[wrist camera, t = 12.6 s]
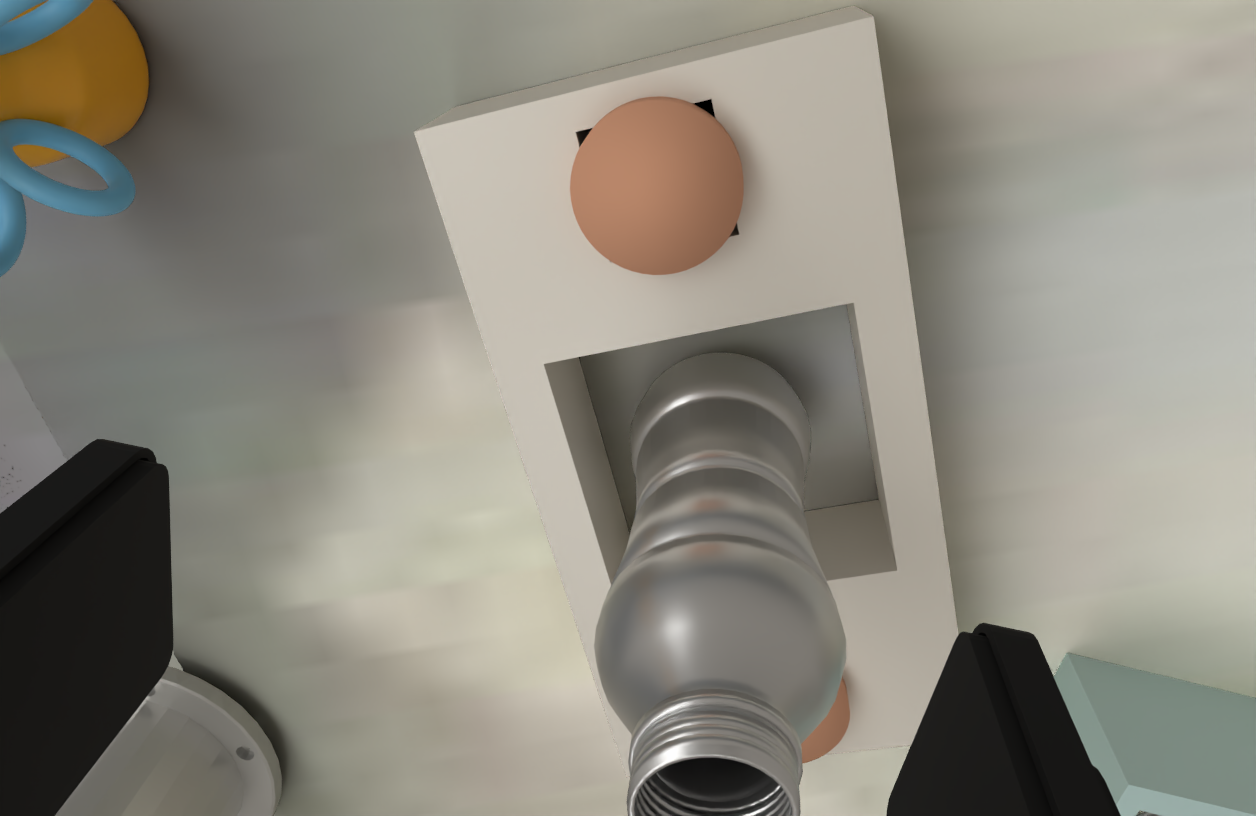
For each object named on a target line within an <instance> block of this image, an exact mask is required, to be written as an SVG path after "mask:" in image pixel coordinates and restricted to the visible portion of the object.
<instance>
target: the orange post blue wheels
mask: <svg viewBox="0 0 1256 816" xmlns="http://www.w3.org/2000/svg"><path fill="white" fill-rule="evenodd" d="M148 88H149V74H148V63H147V60H146V56H145V52H144V48H143V46H142V44H141V42H140V39H139V37H138V34H137V32H136V30H135V29H134V27H133V26H132V25H131V23H130V21H129V20H128V18H127V16H126V15H125V14H124V13H123V12H122V11H121V10H120V9H119V7H118V6H117V5H116V4H115V3H114V2H113V1H112V0H0V277H1V276H2V275H4V274H5V273H6V272H7V271H8V270H9V269H10V268H11V267H12V266H13V265H14V263H15V262H16V260H17V258H18V257H19V255H20V252H21V250H22V247H23V244H24V239H25V234H26V211H25V205H24V200H23V197H22V194H24V195H26V196H27V197H29V198H31V199H33V200H35V201H37V202H40V203H42V204H44V205H47V206H49V207H52V208H55V209H58V210H61V211H65V212H68V213H73V214H78V215H84V216H109V215H113V214H117V213H119V212H122V211H123V210H125V209H126V208H128V207H129V206H130V204H131V203H132V202H133V200H134V197H135V184H134V180H133V178H132V176H131V174H130V173H129V171H128V170H127V168H126V167H125V166H124V165H123V163H122V162H121V161H120V160H119V159H118V158H116V157H115V156H114V155H113V154H112V153H110V152H109V151H108V150H106V149H105V148H104V147H102V146H104V145H106V144H109V143H112V142H114V141H116V140H118V139H119V138H121V137H122V136H124V135H125V134H126V133H127V132H129V131H130V130H131V129H132V127H133V126H134V125H135V124H136V122H137V121H138V119H139V117H140V116H141V114H142V112H143V110H144V107H145V103H146V101H147V98H148ZM70 156H72V157H74V158H76V159H78V160H80V161H81V162H83V163H85V164H86V165H88V166H89V167H91V168H92V169H93V170H95V171H96V172H97V173H98V174H99V175H100V176H101V177H102V178H103V179H104V180H105V181H106V183H107V185H108V189H105V190H100V191H92V190H84V189H79V188H75V187H71V186H68V185H65V184H62V183H59V182H57V181H54V180H52V179H50V178H48V177H46V176H44V175H42V174H40V173H38V172H37V171H35V170H34V169H32V168H31V167H36V166H41V165H45V164H49V163H52V162H55V161H58V160H61V159H64V158H67V157H70Z"/></svg>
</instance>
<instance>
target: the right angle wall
mask: <svg viewBox="0 0 1256 816" xmlns="http://www.w3.org/2000/svg"><path fill="white" fill-rule="evenodd" d="M1054 679H1055V681H1056V684H1057V686H1058V688H1059V690H1060V693H1061V695H1062V697H1063V700H1064V702H1065V704H1066V706H1067V709H1068V711H1069V713H1070V716H1071V718H1072V720H1073V722H1074V725H1075V727H1076V729H1077V731H1078V734H1079V736H1080V738H1081V741H1082V743H1083V745H1084V747H1085V750H1086V752H1087V754H1088V757H1089V759H1090V761H1091V763H1092V765H1093V766H1094V767H1096V768H1097V769H1098V770H1099V772H1100V773H1101V775H1102V776H1103V778H1104V780H1105V781H1106V784H1107V786H1108V788H1109V790H1110V793H1111V795H1112V797H1113V799H1114V802H1115V804H1116V806H1117V808H1118V810H1119V813H1120V815H1121V816H1256V698H1254V697H1250V696H1245V695H1241V694H1237V693H1233V692H1229V691H1225V690H1220V689H1216V688H1212V687H1208V686H1204V685H1200V684H1196V683H1191V682H1187V681H1183V680H1179V679H1175V678H1171V677H1166V676H1162V675H1158V674H1154V673H1150V672H1146V671H1142V670H1137V669H1133V668H1129V667H1125V666H1121V665H1117V664H1112V663H1108V662H1104V661H1100V660H1096V659H1092V658H1088V657H1083V656H1079V655H1075V654H1071V653H1066V655H1065V657H1064V659H1063V661H1062V662H1061V664H1060V666H1059V668H1058V670H1057V672H1056V674H1055V676H1054ZM1139 810H1140V811H1144V813H1142V814H1139V815H1137V813H1138V812H1139Z"/></svg>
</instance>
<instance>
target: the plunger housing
mask: <svg viewBox="0 0 1256 816" xmlns="http://www.w3.org/2000/svg"><path fill="white" fill-rule="evenodd" d="M657 96H662V97H672V98H677V99H681V100H684V101H687V102H690V103H692V104H693V103H697V102H701V101H705V100H709V99H711V100H712V104H713V109H714V114H715V119H716V120H717V121H718V122H719V123H720V124H721V125H722V126H723V127H724V128H725V130H726V131H727V132H728V134H729V135H730V137H731V139H732V140H733V142H734V144H735V146H736V149H737V151H738V153H739V157H740V160H741V164H742V171H743V183H744V195H743V203H742V208H741V212H740V215H739V218H738V221H737V223H736V226H735V228H734V230H733V231H732V233H731V235H730V236H729V238H728V239H727V241H726V242H725V243H724V244H723V246H722V247H721V248H720V249H719V250H718V251H717V252H716V253H715V254H714V255H712V256H711V257H710V258H708V259H707V260H706V261H704V262H702V263H701V264H699V265H697V266H695V267H693V268H690V269H688V270H685V271H682V272H678V273H674V274H667V275H649V274H641V273H637V272H633V271H630V270H627V269H625V268H622V267H620V266H618V265H616V264H614V263H613V262H611V261H610V260H608V259H607V258H605V257H604V256H603V255H601V254H600V253H599V252H598V251H597V250H596V249H595V248H594V247H593V246H592V245H591V243H590V242H589V241H588V240H587V238H586V237H585V235H584V234H583V232H582V231H581V229H580V227H579V225H578V223H577V220H576V218H575V215H574V212H573V208H572V203H571V195H570V179H571V172H572V167H573V163H574V160H575V157H576V154H577V152H578V150H579V148H580V146H581V144H582V143H583V141H584V140H585V138H586V137H587V135H588V134H589V132H590V131H591V130H592V129H593V127H594V126H595V125H596V124H597V123H598V122H599V121H600V120H601V119H602V118H603V117H604V116H605V115H606V114H608V113H609V112H611V111H612V110H614V109H615V108H617V107H619V106H621V105H623V104H625V103H627V102H630V101H633V100H636V99H640V98H646V97H657ZM414 134H415V137H416V140H417V143H418V146H419V149H420V152H421V155H422V158H423V161H424V164H425V167H426V170H427V173H428V176H429V179H430V182H431V185H432V188H433V191H434V195H435V198H436V201H437V204H438V207H439V210H440V213H441V216H442V219H443V222H444V225H445V228H446V231H447V234H448V237H449V240H450V243H451V246H452V249H453V252H454V255H455V258H456V261H457V264H458V267H459V271H460V274H461V277H462V280H463V283H464V286H465V289H466V292H467V295H468V298H469V301H470V304H471V307H472V310H473V313H474V316H475V319H476V322H477V325H478V328H479V331H480V334H481V337H482V340H483V343H484V346H485V350H486V353H487V356H488V359H489V362H490V365H491V368H492V371H493V374H494V377H495V380H496V383H497V386H498V389H499V392H500V395H501V398H502V401H503V404H504V407H505V410H506V413H507V416H508V419H509V422H510V425H511V429H512V432H513V435H514V438H515V441H516V444H517V447H518V450H519V453H520V456H521V459H522V462H523V465H524V468H525V471H526V474H527V477H528V480H529V483H530V486H531V489H532V492H533V495H534V498H535V501H536V505H537V508H538V511H539V514H540V517H541V520H542V523H543V526H544V529H545V532H546V535H547V538H548V541H549V544H550V547H551V550H552V553H553V556H554V559H555V562H556V565H557V568H558V571H559V574H560V577H561V580H562V584H563V587H564V590H565V593H566V596H567V599H568V602H569V605H570V608H571V611H572V614H573V617H574V620H575V623H576V626H577V629H578V632H579V635H580V638H581V641H582V644H583V647H584V650H585V653H586V656H587V659H588V663H589V666H590V669H591V672H592V675H593V678H594V681H595V684H596V687H597V690H598V693H599V696H600V699H601V702H602V705H603V708H604V711H605V714H606V717H607V720H608V723H609V726H610V729H611V732H612V735H613V738H614V742H615V745H616V748H617V751H618V754H619V757H620V760H621V763H622V766H623V769H624V772H625V775H626V778H627V777H630V776H631V775H630V772H629V765H628V758H629V751H630V744H631V737H632V735H631V733H630V732H629V731H628V729H627V728H626V727H625V725H624V724H623V723H622V721H621V720H620V719H619V717H618V716H617V714H616V713H615V711H614V710H613V709H612V707H611V706H610V704H609V702H608V700H607V697H606V695H605V692H604V690H603V687H602V684H601V680H600V676H599V672H598V669H597V665H596V658H595V651H594V641H595V632H596V626H597V623H598V620H599V616H600V613H601V609H602V606H603V603H604V601H605V598H606V595H607V593H608V590H609V589H610V587H611V584H612V582H613V579H614V577H615V575H616V572H617V570H618V568H619V565H620V563H621V561H622V558H623V556H624V553H625V551H626V549H627V545H628V541H629V537H630V533H629V530H628V526H627V523H626V519H625V516H624V512H623V509H622V506H621V502H620V499H619V495H618V492H617V488H616V485H615V481H614V478H613V474H612V471H611V467H610V464H609V461H608V457H607V454H606V450H605V447H604V443H603V440H602V436H601V433H600V429H599V426H598V422H597V419H596V416H595V412H594V409H593V405H592V402H591V398H590V395H589V391H588V388H587V384H586V381H585V377H584V374H583V371H582V367H581V364H580V360H579V357H581V356H587V355H592V354H597V353H602V352H607V351H612V350H617V349H622V348H627V347H632V346H637V345H642V344H647V343H652V342H657V341H662V340H667V339H672V338H677V337H682V336H687V335H693V334H698V333H703V332H708V331H713V330H718V329H723V328H728V327H733V326H738V325H743V324H748V323H753V322H758V321H763V320H768V319H773V318H778V317H783V316H788V315H793V314H799V313H804V312H809V311H814V310H819V309H824V308H829V307H834V306H839V305H844V304H846V305H847V311H848V317H849V323H850V329H851V335H852V341H853V347H854V353H855V359H856V365H857V371H858V377H859V383H860V389H861V395H862V401H863V407H864V413H865V419H866V425H867V431H868V437H869V443H870V449H871V455H872V461H873V467H874V473H875V479H876V485H877V491H878V497H879V500H873V501H867V502H861V503H854V504H848V505H842V506H836V507H829V508H823V509H817V510H811V511H804V514H805V518H806V522H807V527H808V531H809V534H810V539H811V543H812V547H813V550H814V552H815V555H816V557H817V559H818V562H819V564H820V566H821V569H822V571H823V574H824V576H825V578H826V581H827V583H828V585H829V588H830V590H831V592H832V595H833V598H834V599H835V601H836V605H837V609H838V612H839V616H840V619H841V622H842V626H843V630H844V633H845V637H846V654H847V659H846V663H845V667H844V671H843V675H842V677H843V679H844V681H845V685H846V688H847V694H848V701H849V708H850V721H849V725H848V728H847V731H846V733H845V735H844V736H843V738H842V740H841V741H840V742H839V743H838V744H837V745H836V746H835V747H834V748H833V749H832V750H831V751H829V752H828V753H826V754H825V755H830V754H839V753H847V752H856V751H865V750H874V749H883V748H892V747H900V746H909V745H912V742H913V740H914V737H915V735H916V733H917V730H918V728H919V725H920V723H921V721H922V718H923V716H924V713H925V711H926V709H927V706H928V704H929V702H930V699H931V697H932V694H933V692H934V690H935V687H936V685H937V682H938V680H939V678H940V675H941V673H942V670H943V668H944V666H945V663H946V661H947V658H948V656H949V654H950V651H951V649H952V647H953V644H954V642H955V640H956V638H957V636H958V635H959V634H958V627H957V619H956V612H955V605H954V598H953V590H952V583H951V576H950V569H949V561H948V554H947V547H946V539H945V532H944V525H943V518H942V510H941V503H940V496H939V488H938V481H937V474H936V467H935V459H934V452H933V445H932V437H931V430H930V423H929V416H928V408H927V401H926V394H925V386H924V379H923V372H922V365H921V357H920V350H919V343H918V335H917V328H916V321H915V314H914V306H913V299H912V292H911V285H910V277H909V270H908V263H907V255H906V248H905V241H904V234H903V226H902V219H901V212H900V204H899V197H898V190H897V183H896V175H895V168H894V161H893V153H892V146H891V139H890V132H889V124H888V117H887V110H886V102H885V95H884V88H883V81H882V73H881V66H880V59H879V51H878V44H877V37H876V30H875V22H874V16H872V15H871V14H869V13H867V12H865V11H863V10H861V9H860V8H858V7H856V6H850V7H846V8H842V9H838V10H834V11H830V12H826V13H822V14H818V15H814V16H810V17H806V18H802V19H798V20H795V21H791V22H787V23H783V24H779V25H775V26H771V27H767V28H763V29H759V30H755V31H751V32H747V33H743V34H739V35H736V36H732V37H728V38H724V39H720V40H716V41H712V42H708V43H704V44H700V45H696V46H692V47H688V48H684V49H680V50H677V51H673V52H669V53H665V54H661V55H657V56H653V57H649V58H645V59H641V60H637V61H633V62H629V63H625V64H621V65H618V66H614V67H610V68H606V69H602V70H598V71H594V72H590V73H586V74H582V75H578V76H574V77H570V78H566V79H563V80H559V81H555V82H551V83H547V84H543V85H539V86H535V87H531V88H527V89H523V90H519V91H515V92H511V93H507V94H504V95H500V96H496V97H492V98H488V99H484V100H480V101H476V102H472V103H468V104H464V105H460V106H456V107H454V108H452V109H451V110H449V111H447V112H446V113H444V114H442V115H441V116H439V117H437V118H436V119H434V120H432V121H431V122H429V123H427V124H426V125H424V126H422V127H421V128H419V129H418V130H416V131H414Z"/></svg>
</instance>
